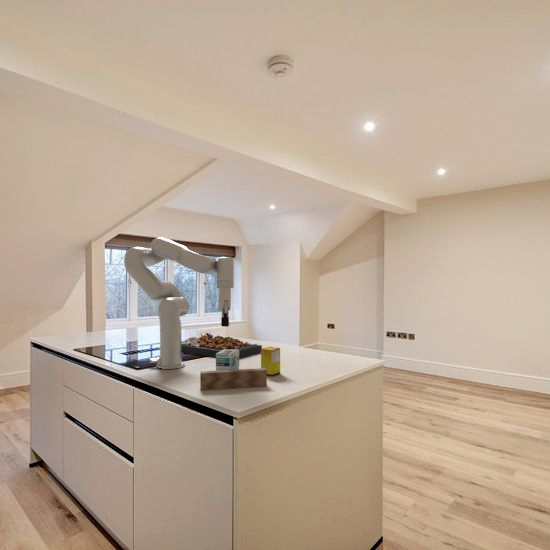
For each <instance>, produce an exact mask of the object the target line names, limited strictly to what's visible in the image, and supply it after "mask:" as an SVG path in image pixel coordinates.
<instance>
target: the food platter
mask: <svg viewBox="0 0 550 550" xmlns="http://www.w3.org/2000/svg"><path fill="white" fill-rule="evenodd" d="M261 348H263V345H261V344H257V343H249V342H247V341H245V342H243V341H242V340H239V339H237V338H233V337H230V336H225V337H223V336H221V335H216V336H213V334H211V332H205V333H204V334H203V333H200V337H196V336H192V337H188V338H186V339H185V340H184V341H183V340H182V341H181V353H182V352H186V353H185V354H189V353H192V354H191V355H195V354H198V355H197V356H202V355H204V356H203V357H210V358H215V359H216V353H218V352H220V351H222V350H224V349H236V350H239V359H241V358H242V359H243V358H247V357H249V356H253V355H257V354H261Z"/></svg>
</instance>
